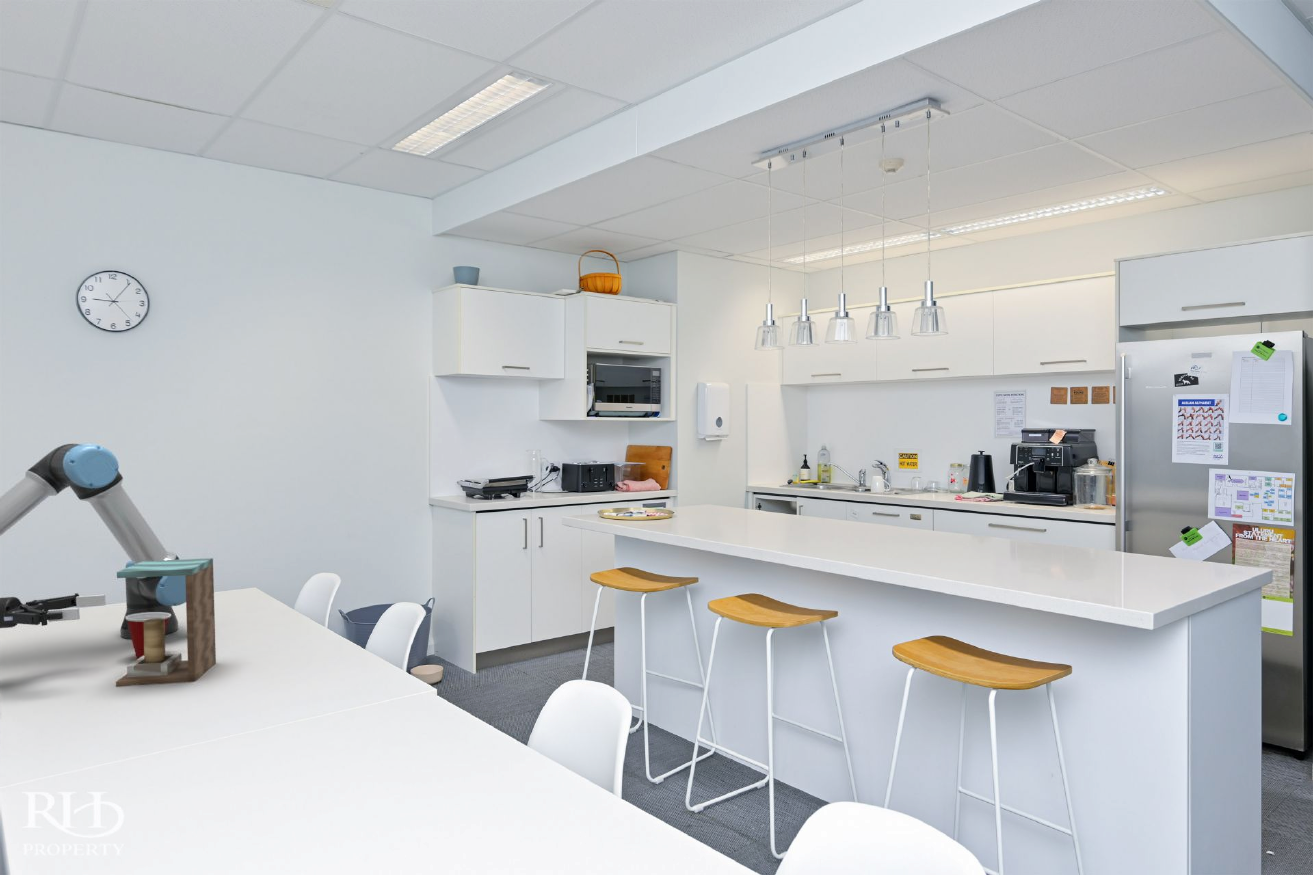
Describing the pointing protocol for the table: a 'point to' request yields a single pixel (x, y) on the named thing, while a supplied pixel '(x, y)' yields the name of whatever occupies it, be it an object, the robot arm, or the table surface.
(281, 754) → the table surface
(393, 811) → the table surface
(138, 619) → the plastic cup
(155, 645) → the peg
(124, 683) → the awning stand
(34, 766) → the table surface
